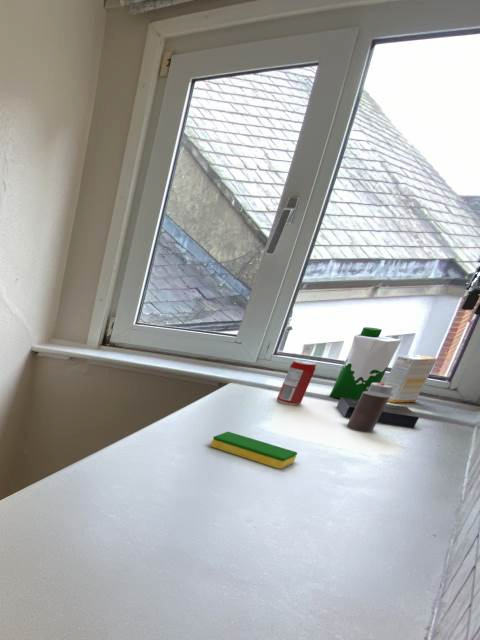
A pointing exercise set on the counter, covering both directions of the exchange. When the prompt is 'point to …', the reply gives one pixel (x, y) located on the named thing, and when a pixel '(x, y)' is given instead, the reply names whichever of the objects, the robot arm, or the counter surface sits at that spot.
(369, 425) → the dark brown cylinder
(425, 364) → the supplement box
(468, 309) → the robot arm
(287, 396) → the soda can
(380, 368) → the milk carton
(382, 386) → the hob knob
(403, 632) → the counter surface
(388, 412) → the panel
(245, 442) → the dish sponge
